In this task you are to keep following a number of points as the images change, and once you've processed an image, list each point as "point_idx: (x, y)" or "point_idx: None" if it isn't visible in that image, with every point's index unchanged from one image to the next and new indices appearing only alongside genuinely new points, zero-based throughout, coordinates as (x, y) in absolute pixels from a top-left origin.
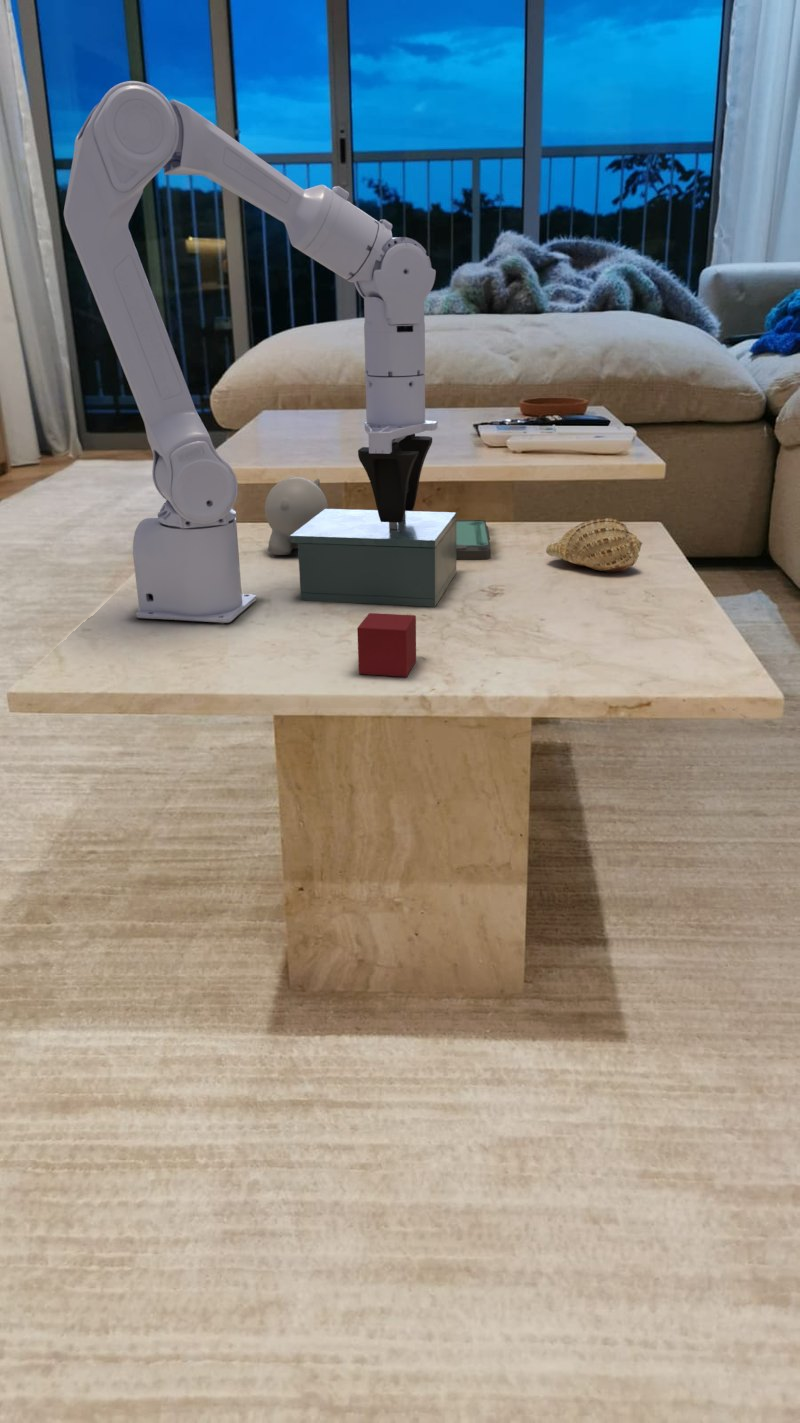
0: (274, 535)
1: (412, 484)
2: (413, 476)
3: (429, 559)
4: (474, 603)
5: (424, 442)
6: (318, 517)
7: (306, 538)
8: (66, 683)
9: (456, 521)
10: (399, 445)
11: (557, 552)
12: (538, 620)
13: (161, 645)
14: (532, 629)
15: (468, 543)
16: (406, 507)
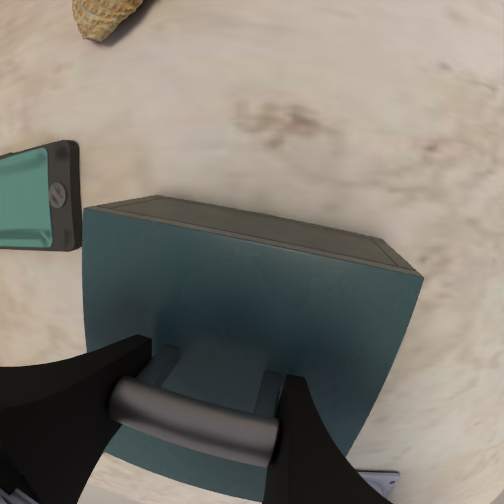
0: (102, 453)
1: (111, 375)
2: (95, 386)
3: None
4: (361, 164)
5: (5, 429)
6: (169, 474)
7: None
8: (485, 500)
9: (100, 205)
10: (47, 485)
11: (120, 18)
12: (448, 73)
13: (437, 492)
14: (487, 94)
15: (39, 181)
16: (148, 355)
